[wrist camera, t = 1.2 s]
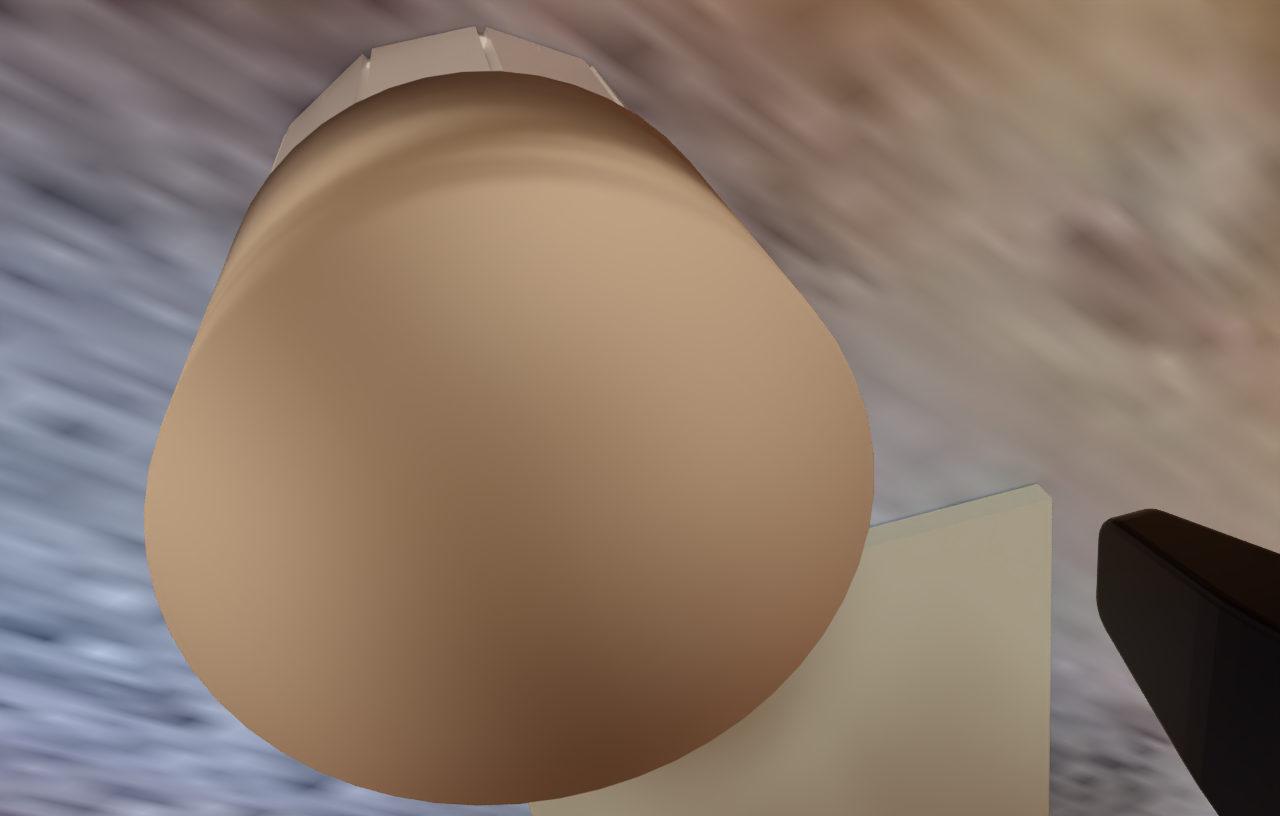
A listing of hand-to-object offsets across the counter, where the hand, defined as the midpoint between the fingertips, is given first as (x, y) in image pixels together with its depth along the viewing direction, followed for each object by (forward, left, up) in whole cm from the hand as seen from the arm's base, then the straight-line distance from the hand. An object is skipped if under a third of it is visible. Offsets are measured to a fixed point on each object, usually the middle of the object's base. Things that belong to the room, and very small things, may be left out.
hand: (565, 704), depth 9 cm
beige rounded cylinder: (0, 0, -7) cm, 7 cm away
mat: (-4, +14, -11) cm, 19 cm away
